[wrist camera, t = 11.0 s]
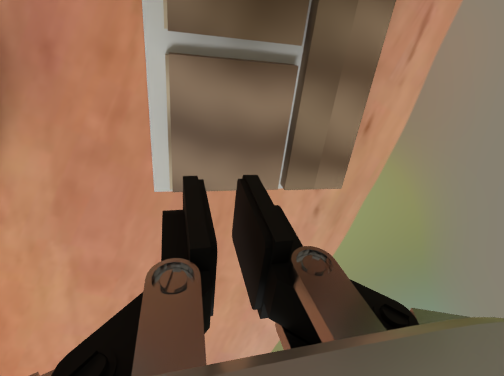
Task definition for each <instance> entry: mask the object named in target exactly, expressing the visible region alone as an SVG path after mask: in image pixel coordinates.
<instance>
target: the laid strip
mask: <svg viewBox="0 0 504 376" xmlns="http://www.w3.org/2000/svg"><path fill="white" fill-rule="evenodd" d="M395 2H396V0H312V2H311V8H310V13H309V19H308V25H307V31H306V37H305V42H304V48H303V54H302V60H301V66H300V71H299V77H298V83H297V89H296V95H295V101H294V106H293V112H292V118H291V124H290V130H289V135H288V141H287V147H286V153H285V159H284V164H283V170H282V176H281V182H280V184H281V186H282V187H283V189H284V190H305V189H341V188H342V185H343V181H344V178H345V174H346V171H347V167H348V164H349V161H350V157H351V154H352V150H353V147H354V143H355V140H356V136H357V133H358V129H359V126H360V123H361V119H362V116H363V112H364V109H365V105H366V102H367V98H368V95H369V92H370V88H371V85H372V81H373V78H374V74H375V71H376V67H377V64H378V60H379V57H380V54H381V50H382V47H383V43H384V40H385V36H386V33H387V29H388V26H389V22H390V19H391V16H392V12H393V9H394V5H395Z"/></svg>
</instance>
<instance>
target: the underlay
mask: <svg viewBox="0 0 504 376" xmlns="http://www.w3.org/2000/svg"><path fill="white" fill-rule="evenodd" d="M311 2H312V0H310V1H309V7H308V13H307V19H306V25H305V31H304V36H303V42H302V46H298V45H289V44H280V43H271V42H262V41H254V40H245V39H236V38H227V37H218V36H209V35H201V34H192V33H183V32H174V31H168V29H164V9H163V0H142V8H143V23H144V39H145V54H146V70H147V85H148V101H149V116H150V132H151V147H152V163H153V178H154V192H163V191H173V190H170V180H169V151H168V123H167V94H166V65H165V54H169V52H171V53H182V54H193V55H203V56H214V57H224V58H235V59H246V60H256V61H267V62H277V63H288V64H294V65H297V66H298V72H297V78H296V84H295V90H294V96H293V102H292V108H291V114H290V120H289V126H288V131H287V137H286V143H285V149H284V155H283V161H282V167H281V173H280V179H279V185H278V188H283V187H282V186H281V184H280V182H281V176H282V170H283V164H284V159H285V153H286V147H287V141H288V135H289V130H290V124H291V118H292V112H293V106H294V101H295V95H296V89H297V83H298V77H299V71H300V66H301V60H302V54H303V48H304V42H305V37H306V31H307V25H308V19H309V13H310V8H311Z"/></svg>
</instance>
